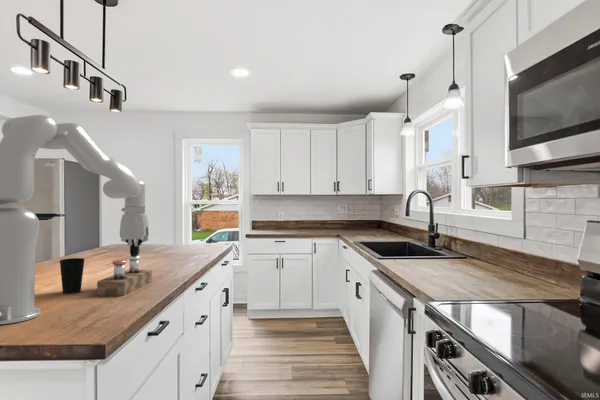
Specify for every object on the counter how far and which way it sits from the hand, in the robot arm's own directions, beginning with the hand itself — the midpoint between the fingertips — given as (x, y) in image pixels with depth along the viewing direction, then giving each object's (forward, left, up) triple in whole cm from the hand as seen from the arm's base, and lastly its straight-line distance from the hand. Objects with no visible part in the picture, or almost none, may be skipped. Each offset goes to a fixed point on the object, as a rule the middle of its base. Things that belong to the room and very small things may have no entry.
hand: (134, 255), depth 141 cm
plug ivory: (0, 0, -7) cm, 7 cm away
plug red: (-11, 0, -7) cm, 13 cm away
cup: (-13, +17, -12) cm, 24 cm away
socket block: (-6, 0, -12) cm, 13 cm away
